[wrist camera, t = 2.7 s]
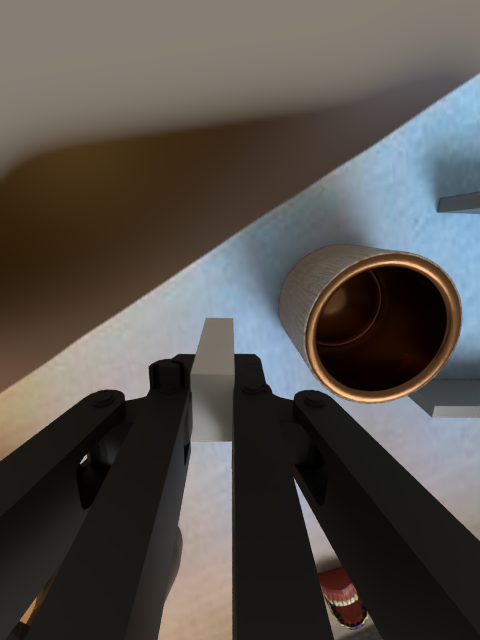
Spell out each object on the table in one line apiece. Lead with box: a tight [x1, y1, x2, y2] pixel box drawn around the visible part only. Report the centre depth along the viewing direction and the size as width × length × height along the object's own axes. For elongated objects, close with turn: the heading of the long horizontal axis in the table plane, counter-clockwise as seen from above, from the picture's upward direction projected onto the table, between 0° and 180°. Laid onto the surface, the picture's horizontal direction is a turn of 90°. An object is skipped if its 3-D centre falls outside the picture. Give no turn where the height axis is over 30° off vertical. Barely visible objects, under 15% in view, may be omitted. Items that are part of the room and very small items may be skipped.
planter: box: [279, 244, 462, 404], centre depth 24 cm, size 11×11×10 cm
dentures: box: [318, 567, 369, 630], centre depth 38 cm, size 6×4×8 cm
